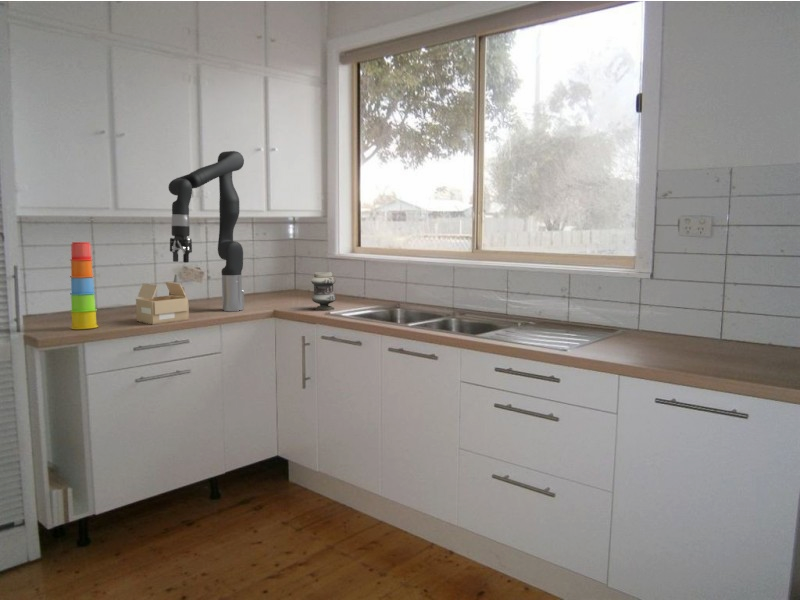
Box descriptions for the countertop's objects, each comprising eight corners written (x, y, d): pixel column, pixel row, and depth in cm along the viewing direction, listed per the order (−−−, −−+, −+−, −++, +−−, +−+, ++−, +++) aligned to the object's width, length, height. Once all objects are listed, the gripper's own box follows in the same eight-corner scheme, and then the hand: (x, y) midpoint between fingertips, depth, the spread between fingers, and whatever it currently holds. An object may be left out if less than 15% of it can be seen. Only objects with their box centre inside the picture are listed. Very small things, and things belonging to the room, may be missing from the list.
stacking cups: (64, 328, 256) (59, 242, 252) (88, 325, 265) (83, 241, 261) (80, 331, 251) (74, 242, 247) (104, 327, 260) (99, 242, 255)
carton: (171, 316, 288) (170, 295, 287) (189, 320, 278) (188, 297, 277) (136, 321, 275) (135, 298, 274) (153, 325, 266) (152, 301, 265)
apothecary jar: (316, 307, 320) (315, 271, 318) (339, 307, 318) (339, 271, 316) (308, 310, 309) (307, 273, 306) (332, 311, 306) (331, 273, 304)
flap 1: (138, 296, 274) (143, 283, 275) (152, 299, 266) (158, 285, 267) (137, 296, 273) (142, 283, 275) (151, 298, 266) (157, 285, 267)
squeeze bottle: (181, 314, 295) (179, 275, 293) (165, 313, 297) (163, 275, 294) (190, 311, 303) (188, 274, 301) (174, 311, 305) (173, 273, 302)
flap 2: (171, 293, 285) (165, 281, 283) (186, 295, 277) (180, 283, 275) (170, 293, 285) (164, 282, 282) (185, 296, 277) (179, 284, 275)
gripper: (197, 225, 279) (197, 262, 281) (179, 225, 289) (179, 261, 290) (181, 225, 274) (181, 262, 275) (164, 224, 283) (164, 261, 284)
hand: (180, 262), depth 283 cm, fingers open, 8 cm apart
